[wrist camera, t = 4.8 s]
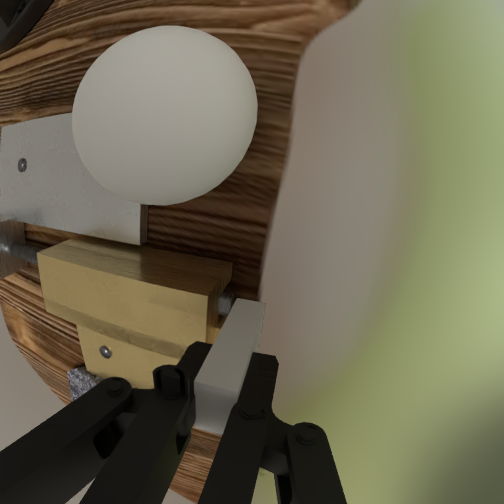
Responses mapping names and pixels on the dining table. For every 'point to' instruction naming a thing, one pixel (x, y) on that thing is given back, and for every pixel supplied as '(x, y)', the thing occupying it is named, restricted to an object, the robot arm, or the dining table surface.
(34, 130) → the zinc leaf
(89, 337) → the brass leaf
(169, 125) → the lightbulb
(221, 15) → the dining table surface
